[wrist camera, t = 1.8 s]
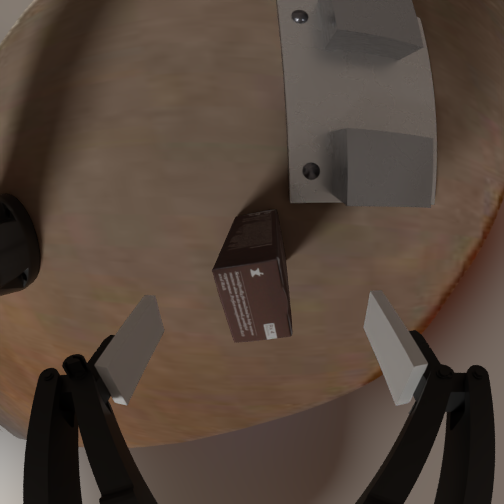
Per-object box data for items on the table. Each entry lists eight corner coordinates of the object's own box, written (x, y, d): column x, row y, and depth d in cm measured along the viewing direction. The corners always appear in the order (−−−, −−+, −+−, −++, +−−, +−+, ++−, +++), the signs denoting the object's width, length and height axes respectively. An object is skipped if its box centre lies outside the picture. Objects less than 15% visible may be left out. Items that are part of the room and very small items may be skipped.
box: (231, 216, 27) (208, 268, 16) (277, 208, 27) (285, 255, 15) (244, 271, 29) (233, 346, 18) (286, 264, 29) (298, 337, 18)
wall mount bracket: (289, 200, 26) (296, 216, 20) (275, 0, 18) (278, -31, 12) (428, 202, 25) (460, 217, 20) (415, 21, 17) (442, 3, 11)
